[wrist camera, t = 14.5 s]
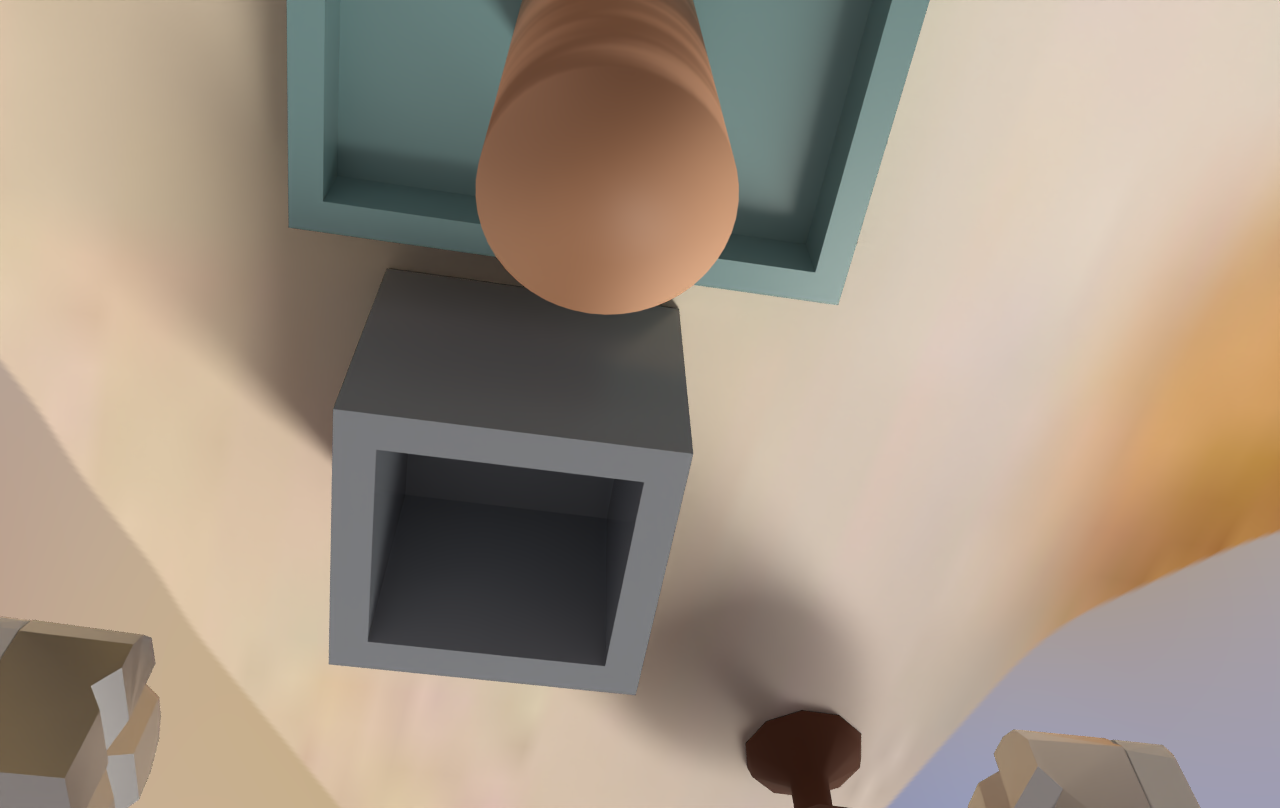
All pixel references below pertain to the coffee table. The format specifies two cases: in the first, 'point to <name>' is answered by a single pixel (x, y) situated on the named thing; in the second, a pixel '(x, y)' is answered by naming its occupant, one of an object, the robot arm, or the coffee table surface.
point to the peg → (607, 155)
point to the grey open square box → (505, 485)
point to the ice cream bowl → (804, 756)
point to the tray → (466, 92)
